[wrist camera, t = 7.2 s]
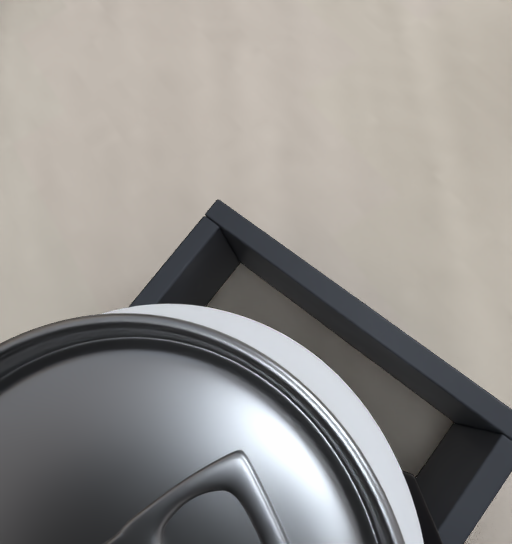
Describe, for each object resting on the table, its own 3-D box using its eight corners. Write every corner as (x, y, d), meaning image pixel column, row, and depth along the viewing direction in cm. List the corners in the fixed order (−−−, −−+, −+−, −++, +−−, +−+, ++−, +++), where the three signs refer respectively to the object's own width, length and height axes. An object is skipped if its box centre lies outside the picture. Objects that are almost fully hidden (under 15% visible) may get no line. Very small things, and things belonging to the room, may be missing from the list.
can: (128, 411, 16) (-298, 452, 5) (292, 325, 17) (255, 165, 5) (207, 605, 15) (-172, 1387, 3) (389, 506, 15) (676, 902, 3)
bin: (289, 700, 16) (280, 820, 11) (55, 466, 18) (-24, 490, 14) (482, 419, 17) (540, 429, 13) (238, 240, 20) (217, 197, 15)
